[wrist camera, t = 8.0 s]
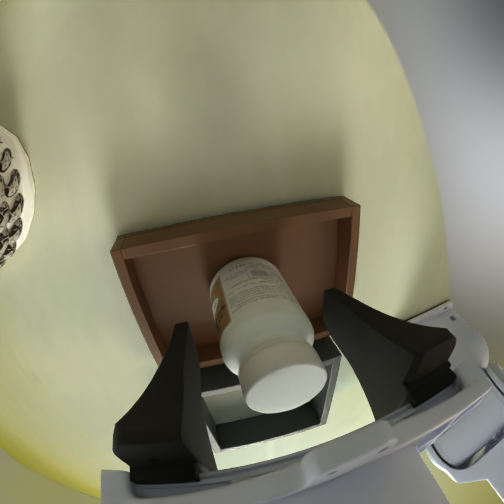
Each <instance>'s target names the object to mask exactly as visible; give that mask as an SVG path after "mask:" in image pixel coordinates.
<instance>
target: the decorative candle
mask: <svg viewBox="0 0 504 504" xmlns="http://www.w3.org/2000/svg"><path fill="white" fill-rule="evenodd" d="M34 197H35V185H34V180H33V176H32V171H31V167H30V162H29V158H28V156H27V154H26V153H25V151H24V149H23V147H22V146H21V144H20V142H19V140H18V138H17V137H16V136H15V135H13V134H12V133H11V132H9V131H8V130H6V129H5V128H4V127H2V126H0V268H1V267H2V266H3V265H4V264H5V261H6V259H8V258H10V257H11V256H12V255H13V254H14V252H15V250H16V249H17V248H18V247H19V246H20V245H21V243H22V242H23V241H24V240H25V239H26V238H27V235H28V231H29V228H30V225H31V222H32V219H33V216H34Z"/></svg>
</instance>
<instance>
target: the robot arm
mask: <svg viewBox="0 0 504 504" xmlns="http://www.w3.org/2000/svg"><path fill="white" fill-rule="evenodd" d="M452 306H453V301H452V300H449V301H448V302H446V303H444V304H442V305H440V306H438V307H436V308H434V309H432V310H430V311H428V312H425V313H423V314H421V315H419V316H417V317H415V318H413V319H410V320H408V321H403V320H400V319H397V318H394V317H392V316H389V315H387V314H384V313H382V312H380V311H378V310H375V309H373V308H371V307H369V306H367V305H365V304H363V303H362V302H360V301H358V300H356V299H354V298H353V297H351V296H349V295H347V294H346V293H344V292H342V291H340V290H338V289H336V288H331V289H327V290H324V306H323V321H324V323H325V325H326V328H327V329H328V331H329V333H330V335H331V337H332V338H333V340H334V341H335V343H336V344H337V346H338V347H339V348H340V350H341V351H342V353H343V354H344V356H345V357H346V359H347V360H348V362H349V363H350V365H351V366H352V368H353V370H354V372H355V374H356V376H357V378H358V380H359V382H360V384H361V386H362V388H363V390H364V392H365V395H366V397H367V400H368V402H369V404H370V407H371V409H372V412H373V415H374V418H375V421H374V422H372V423H370V424H368V425H366V426H364V427H362V428H359V429H357V430H355V431H353V432H350V433H348V434H346V435H343V436H341V437H338V438H336V439H333V440H331V441H328V442H325V443H323V444H320V445H317V446H314V447H311V448H308V449H305V450H302V451H299V452H296V453H292V454H289V455H286V456H282V457H279V458H275V459H271V460H267V461H263V462H259V463H255V464H250V465H245V466H240V467H235V468H230V469H224V470H217V466H216V463H215V459H214V455H213V451H212V448H211V444H210V439H209V435H208V431H207V426H206V421H205V416H204V411H203V404H202V392H201V376H200V365H199V359H198V353H197V348H196V345H195V342H194V339H193V336H192V333H191V330H190V327H189V324H188V321H187V322H182V323H176V324H175V325H174V329H173V332H172V335H171V338H170V341H169V344H168V347H167V349H166V352H165V354H164V357H163V359H162V361H161V363H160V365H159V367H158V369H157V371H156V373H155V375H154V377H153V378H152V380H151V382H150V384H149V385H148V387H147V388H146V390H145V391H144V393H143V394H142V395H141V397H140V398H139V399H138V400H137V402H136V403H135V404H134V405H133V407H132V408H131V409H130V410H129V411H128V412H127V413H126V414H125V415H124V416H123V417H122V418H121V419H120V420H119V421H118V422H117V423H116V424H115V429H114V434H113V453H114V454H115V455H116V456H117V457H118V458H119V459H121V460H122V461H123V462H125V463H126V464H127V465H129V466H130V472H127V471H120V470H101V504H450V503H449V502H448V500H447V498H446V497H445V495H444V493H443V492H442V490H441V488H440V487H439V485H438V484H437V482H436V480H435V479H434V477H433V475H432V474H431V473H430V471H429V469H428V467H427V466H426V464H425V463H424V461H423V459H422V458H421V456H420V455H419V453H420V452H422V451H423V450H424V449H425V451H426V453H427V455H428V457H429V458H430V460H431V461H432V462H433V463H434V464H435V465H436V466H437V467H438V468H440V469H442V470H443V471H445V472H446V473H447V474H448V475H449V476H450V477H451V478H452V479H453V480H455V482H456V483H466V482H474V481H479V480H488V482H489V483H490V484H491V486H492V487H493V488H494V489H495V491H496V492H497V494H498V495H499V496H500V498H501V499H502V500H503V502H504V369H503V368H502V367H501V366H499V365H498V364H497V363H493V364H488V361H489V351H488V347H487V344H486V342H485V340H484V339H483V337H482V336H481V335H480V334H479V333H478V332H477V331H475V329H474V328H472V327H471V326H470V325H469V324H468V323H467V322H466V321H465V320H464V319H463V318H462V317H461V316H459V315H458V314H457V313H456V312H455V311H454V310H453V309H452Z"/></svg>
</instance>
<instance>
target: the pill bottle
mask: <svg viewBox="0 0 504 504" xmlns="http://www.w3.org/2000/svg"><path fill="white" fill-rule="evenodd" d="M210 299H211V305H212V311H213V315H214V320H215V326H216V330H217V336H218V340H219V345H220V350H221V354H222V357H223V360H224V362H225V364H226V366H227V367H228V368H229V369H230V370H231V371H232V372H233V373H234V374H236V375H238V378H239V381H240V385H241V389H242V392H243V395H244V399H245V401H246V403H247V405H248V406H249V407H250V408H251V409H253V410H255V411H258V412H261V413H279V412H283V411H288V410H291V409H294V408H297V407H299V406H301V405H303V404H305V403H306V402H308V401H309V400H311V399H312V398H313V397H315V396H316V395H317V394H318V393H319V392H320V391H321V390H322V388H323V387H324V385H325V383H326V380H327V371H326V369H325V367H324V365H323V363H322V361H321V360H320V358H319V356H318V354H317V352H316V350H315V349H314V348H313V342H314V330H313V327H312V324H311V322H310V320H309V319H308V317H307V316H306V314H305V312H304V311H303V309H302V308H301V306H300V304H299V303H298V301H297V300H296V298H295V296H294V295H293V293H292V292H291V290H290V288H289V287H288V285H287V284H286V282H285V280H284V279H283V277H282V276H281V274H280V272H279V271H278V269H277V268H276V267H275V266H274V265H273V264H272V263H270V262H268V261H267V260H264V259H261V258H256V257H244V258H240V259H237V260H234V261H232V262H230V263H228V264H227V265H225V266H224V267H223V268H222V269H220V270H219V271H218V273H217V274H216V275H215V277H214V279H213V281H212V283H211V286H210Z"/></svg>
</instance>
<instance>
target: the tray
mask: <svg viewBox="0 0 504 504" xmlns="http://www.w3.org/2000/svg"><path fill="white" fill-rule="evenodd" d="M359 224H360V205H359V204H357V203H355V202H353V201H352V200H350V199H348V198H346V197H344V196H340V197H333V198H325V199H318V200H311V201H305V202H298V203H291V204H285V205H279V206H272V207H266V208H260V209H254V210H248V211H243V212H237V213H231V214H226V215H220V216H215V217H210V218H204V219H199V220H194V221H189V222H184V223H179V224H174V225H169V226H164V227H159V228H155V229H150V230H145V231H141V232H136V233H132V234H127V235H123V236H118V237H117V239H116V241H115V243H114V245H113V247H112V249H111V251H110V253H111V256H112V259H113V262H114V265H115V267H116V270H117V273H118V276H119V278H120V281H121V284H122V286H123V289H124V292H125V294H126V297H127V299H128V302H129V304H130V306H131V309H132V311H133V314H134V316H135V318H136V321H137V323H138V325H139V327H140V330H141V332H142V334H143V336H144V338H145V340H146V343H147V345H148V347H149V349H150V351H151V353H152V355H153V357H154V359H155V361H156V363H157V365H158V367H159V365H160V363H161V361H162V359H163V357H164V354H165V352H166V349H167V347H168V344H169V341H170V338H171V335H172V332H173V329H174V325H175V324H176V323H182V322H187V321H188V324H189V327H190V330H191V333H192V336H193V339H194V342H195V345H196V348H197V353H198V359H199V365H200V368H203V367H208V366H213V365H218V364H223V363H225V362H224V360H223V357H222V354H221V350H220V345H219V340H218V336H217V330H216V326H215V320H214V315H213V311H212V305H211V299H210V286H211V283H212V281H213V279H214V277H215V275H216V274H217V273H218V271H219V270H220V269H222V268H223V267H224V266H225V265H227V264H228V263H230V262H232V261H234V260H237V259H240V258H244V257H256V258H261V259H264V260H267V261H268V262H270V263H272V264H273V265H274V266H275V267H276V268H277V269H278V271H279V272H280V274H281V276H282V277H283V279H284V280H285V282H286V284H287V285H288V287H289V288H290V290H291V292H292V293H293V295H294V296H295V298H296V300H297V301H298V303H299V304H300V306H301V308H302V309H303V311H304V312H305V314H306V316H307V317H308V319H309V320H310V322H311V324H312V327H313V330H314V340H317V339H320V338H323V337H326V336H329V335H330V333H329V331H328V329H327V328H326V325H325V323H324V321H323V306H324V290H327V289H331V288H336V289H338V290H340V291H342V292H344V293H346V294H347V295H349V296H351V297H353V289H354V281H355V272H356V262H357V252H358V239H359Z"/></svg>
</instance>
